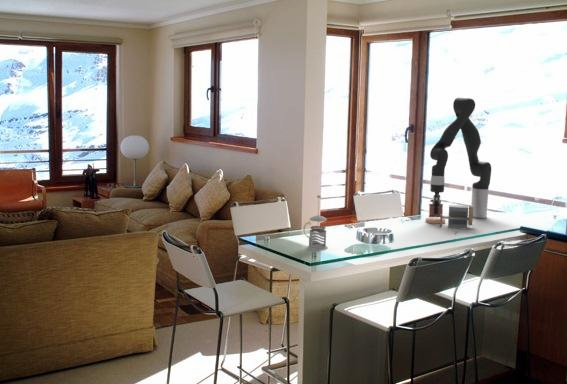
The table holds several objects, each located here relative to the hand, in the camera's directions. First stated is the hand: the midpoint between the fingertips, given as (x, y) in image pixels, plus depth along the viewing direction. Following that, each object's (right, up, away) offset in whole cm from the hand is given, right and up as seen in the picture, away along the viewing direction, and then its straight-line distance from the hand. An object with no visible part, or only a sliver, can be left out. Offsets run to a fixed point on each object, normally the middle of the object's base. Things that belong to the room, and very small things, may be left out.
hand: (435, 213), depth 379 cm
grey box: (+9, -7, -13) cm, 17 cm away
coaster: (0, -5, +1) cm, 5 cm away
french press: (-72, -14, -67) cm, 99 cm away
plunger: (+8, -7, -12) cm, 16 cm away
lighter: (0, -3, -1) cm, 3 cm away
